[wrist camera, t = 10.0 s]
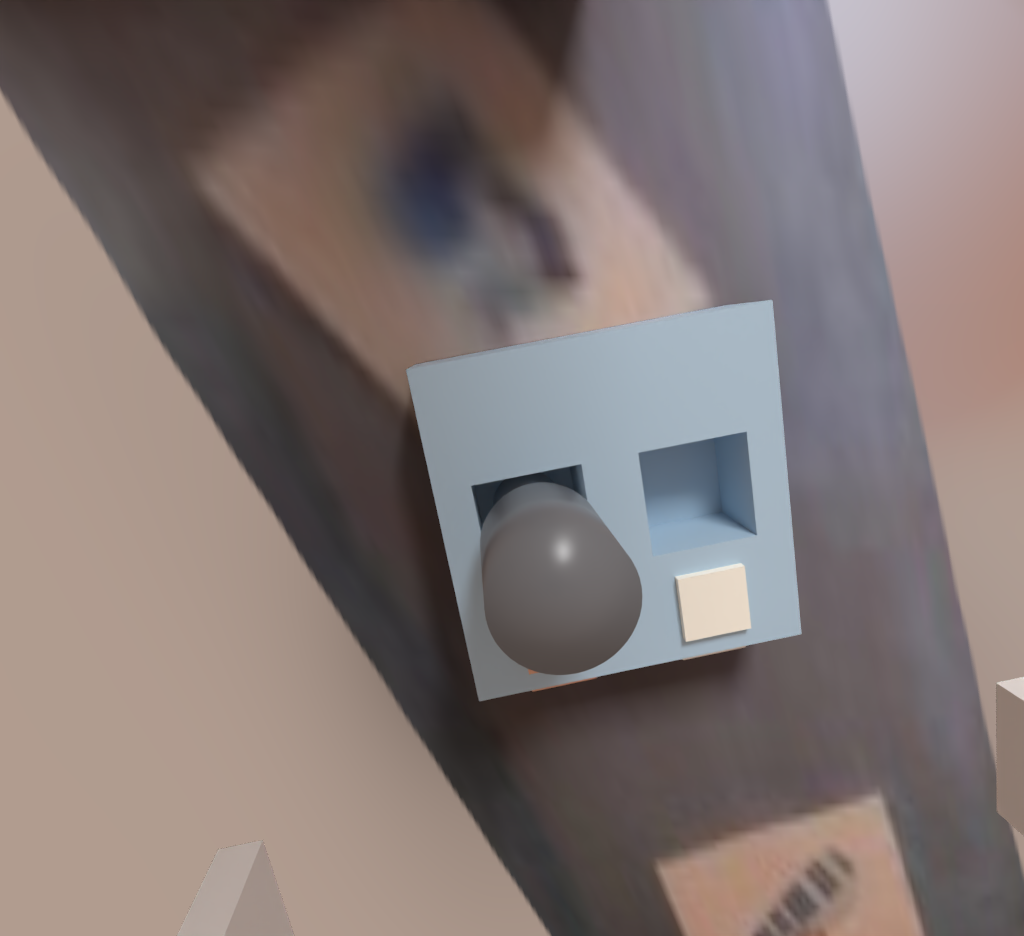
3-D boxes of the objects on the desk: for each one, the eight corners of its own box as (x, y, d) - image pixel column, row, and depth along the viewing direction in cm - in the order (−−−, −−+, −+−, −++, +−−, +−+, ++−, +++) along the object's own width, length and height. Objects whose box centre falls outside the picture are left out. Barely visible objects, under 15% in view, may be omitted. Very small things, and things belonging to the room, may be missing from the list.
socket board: (415, 364, 31) (404, 370, 26) (724, 305, 31) (776, 299, 26) (478, 656, 34) (481, 713, 29) (755, 598, 35) (806, 645, 30)
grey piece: (468, 465, 31) (470, 544, 19) (568, 446, 31) (630, 511, 20) (487, 561, 32) (500, 689, 21) (584, 541, 32) (652, 657, 21)
